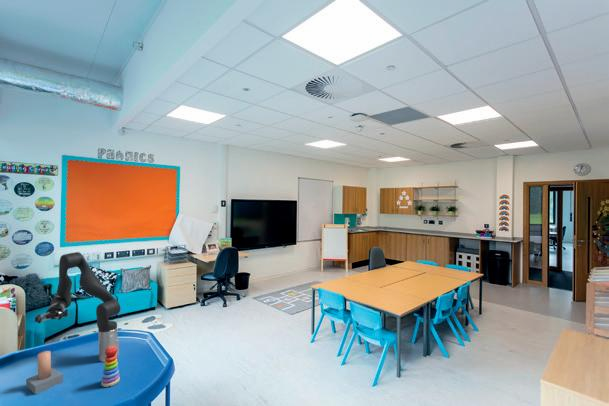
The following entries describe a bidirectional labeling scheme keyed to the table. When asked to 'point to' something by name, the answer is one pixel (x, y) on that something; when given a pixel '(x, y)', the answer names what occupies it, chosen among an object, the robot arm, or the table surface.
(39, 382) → the slate base block
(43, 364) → the terracotta peg
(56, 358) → the table surface
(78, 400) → the table surface
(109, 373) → the stacking toy
